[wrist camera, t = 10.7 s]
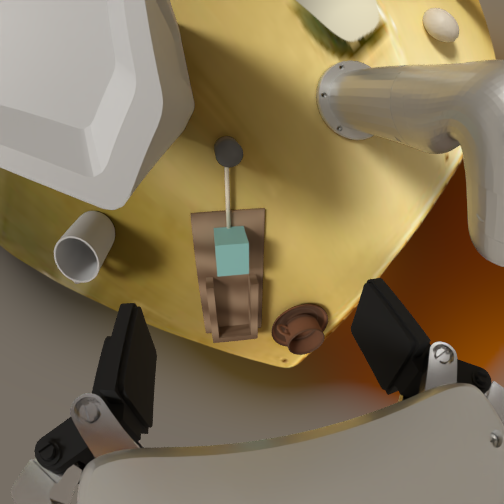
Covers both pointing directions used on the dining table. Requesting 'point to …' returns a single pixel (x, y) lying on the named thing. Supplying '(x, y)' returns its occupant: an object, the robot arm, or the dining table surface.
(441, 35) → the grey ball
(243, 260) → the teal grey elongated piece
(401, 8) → the dining table surface
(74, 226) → the cup
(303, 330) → the cup and saucer
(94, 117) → the tall white carton
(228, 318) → the lane
